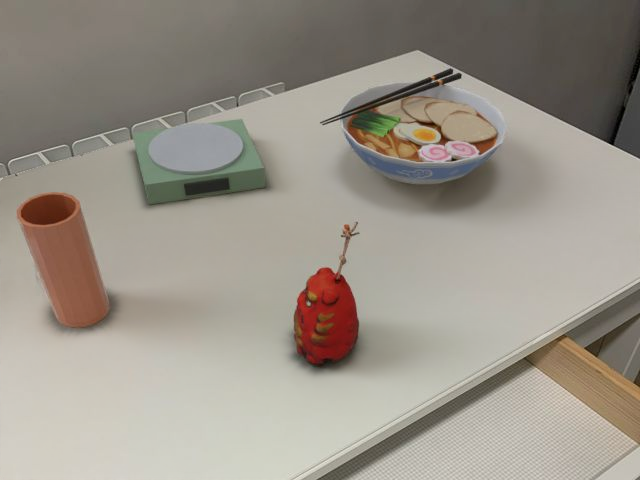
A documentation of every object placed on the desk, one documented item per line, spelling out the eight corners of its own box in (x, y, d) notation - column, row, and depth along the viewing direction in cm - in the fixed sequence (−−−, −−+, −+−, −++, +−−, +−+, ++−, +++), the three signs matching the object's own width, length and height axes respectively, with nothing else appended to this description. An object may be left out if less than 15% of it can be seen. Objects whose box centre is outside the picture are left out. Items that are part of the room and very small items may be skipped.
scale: (149, 206, 89) (144, 182, 86) (136, 152, 97) (131, 129, 95) (265, 188, 92) (264, 165, 89) (243, 138, 100) (241, 115, 98)
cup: (56, 332, 73) (17, 231, 63) (54, 297, 77) (16, 197, 67) (112, 322, 75) (81, 221, 64) (107, 288, 78) (77, 188, 68)
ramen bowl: (401, 238, 85) (409, 179, 79) (299, 160, 97) (298, 104, 90) (535, 178, 95) (551, 121, 88) (427, 114, 106) (435, 59, 100)
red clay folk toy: (287, 326, 75) (284, 208, 63) (347, 317, 76) (355, 200, 64) (302, 375, 70) (301, 257, 58) (366, 364, 71) (378, 247, 59)
